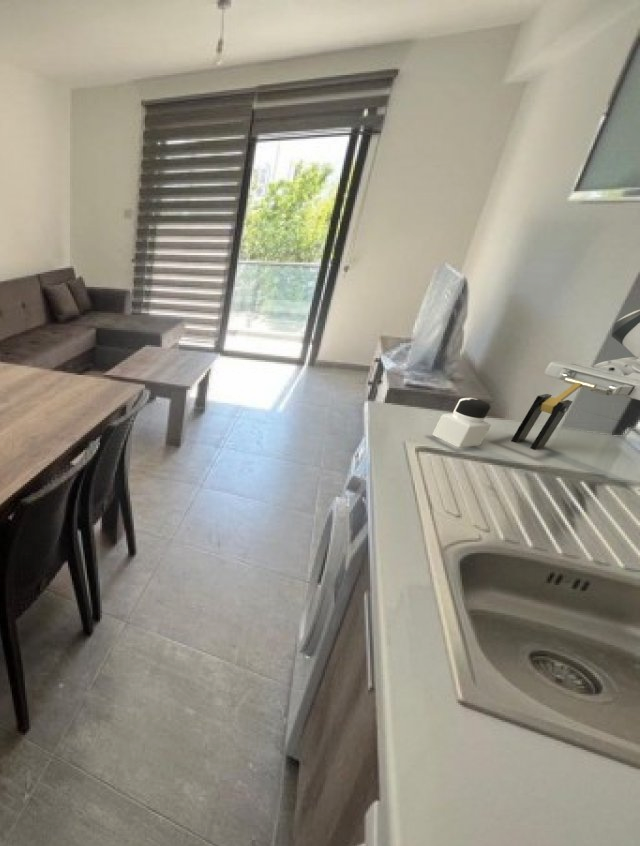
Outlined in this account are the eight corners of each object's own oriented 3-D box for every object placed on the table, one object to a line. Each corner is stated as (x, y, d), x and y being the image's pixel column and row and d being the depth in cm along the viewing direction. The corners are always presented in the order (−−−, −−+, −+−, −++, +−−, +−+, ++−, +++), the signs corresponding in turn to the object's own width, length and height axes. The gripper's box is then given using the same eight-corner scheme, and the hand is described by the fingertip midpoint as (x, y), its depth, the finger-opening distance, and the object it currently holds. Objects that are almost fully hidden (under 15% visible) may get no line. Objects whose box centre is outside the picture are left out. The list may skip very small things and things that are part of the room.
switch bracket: (513, 438, 127) (542, 389, 120) (556, 453, 120) (589, 403, 113) (492, 443, 123) (521, 394, 116) (535, 460, 116) (568, 408, 109)
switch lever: (566, 381, 120) (569, 374, 118) (595, 389, 115) (598, 381, 114) (531, 407, 118) (534, 400, 117) (559, 416, 114) (562, 409, 112)
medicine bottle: (477, 449, 119) (502, 405, 114) (456, 452, 118) (480, 407, 112) (450, 436, 125) (472, 394, 120) (429, 438, 124) (450, 395, 118)
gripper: (567, 353, 130) (541, 357, 125) (677, 379, 114) (652, 385, 108) (554, 375, 133) (528, 380, 128) (659, 403, 117) (634, 410, 111)
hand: (586, 383), depth 118 cm, fingers open, 8 cm apart
